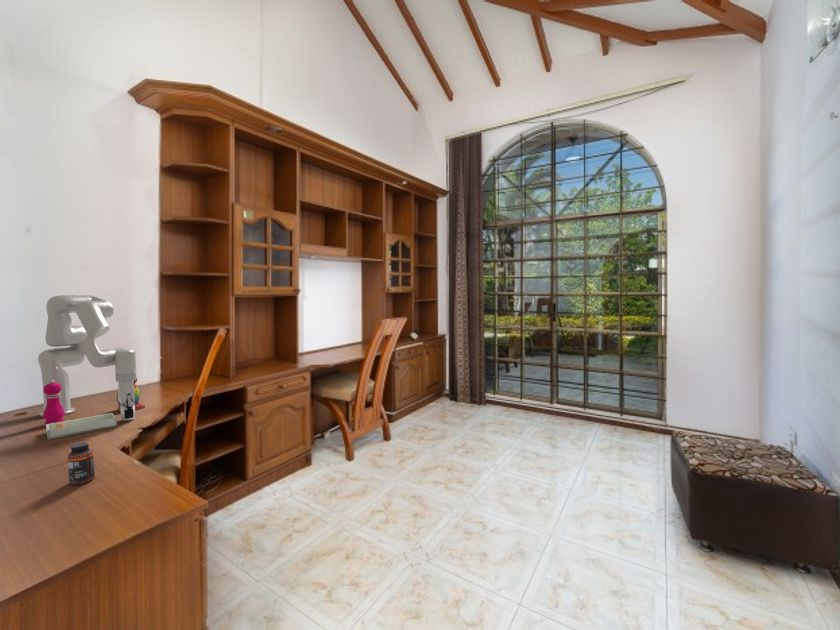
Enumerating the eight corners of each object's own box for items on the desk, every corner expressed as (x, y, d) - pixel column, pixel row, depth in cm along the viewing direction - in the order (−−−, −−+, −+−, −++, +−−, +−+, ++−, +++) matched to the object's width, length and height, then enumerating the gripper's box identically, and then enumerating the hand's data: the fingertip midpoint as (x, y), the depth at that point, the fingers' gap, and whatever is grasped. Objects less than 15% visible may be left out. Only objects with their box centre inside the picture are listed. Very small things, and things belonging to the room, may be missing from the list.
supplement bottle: (92, 475, 124) (90, 439, 124) (97, 480, 121) (95, 443, 120) (67, 482, 120) (64, 445, 119) (71, 487, 116) (69, 449, 116)
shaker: (120, 418, 180) (119, 404, 180) (133, 416, 184) (133, 401, 184) (122, 421, 177) (121, 406, 176) (136, 418, 180) (135, 404, 180)
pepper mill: (52, 427, 172) (49, 381, 171) (39, 426, 174) (36, 381, 173) (69, 422, 179) (67, 378, 178) (57, 421, 181) (54, 377, 180)
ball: (58, 432, 166) (55, 425, 166) (68, 428, 167) (64, 421, 167) (56, 432, 163) (52, 425, 163) (65, 428, 164) (62, 421, 164)
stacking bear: (146, 407, 202) (145, 372, 201) (124, 412, 193) (122, 376, 192) (134, 405, 207) (133, 371, 206) (112, 410, 198) (110, 374, 197)
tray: (46, 432, 165) (46, 424, 165) (112, 420, 180) (112, 412, 180) (47, 439, 156) (47, 431, 156) (117, 426, 172) (116, 418, 172)
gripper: (112, 375, 183) (114, 414, 184) (118, 381, 171) (121, 422, 172) (132, 373, 188) (134, 411, 189) (140, 378, 176) (141, 418, 177)
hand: (128, 416), depth 180 cm, fingers closed on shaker, 5 cm apart
